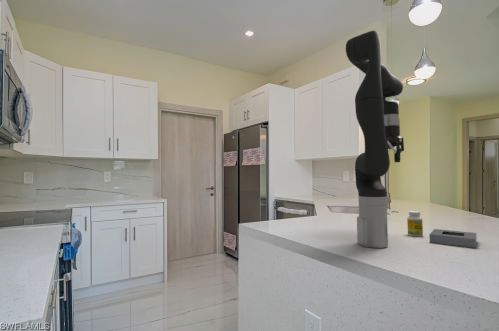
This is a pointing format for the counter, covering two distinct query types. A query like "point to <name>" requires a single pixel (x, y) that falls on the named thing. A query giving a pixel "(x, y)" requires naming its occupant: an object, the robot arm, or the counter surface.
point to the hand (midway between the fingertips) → (391, 162)
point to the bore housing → (453, 238)
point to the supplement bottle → (415, 224)
